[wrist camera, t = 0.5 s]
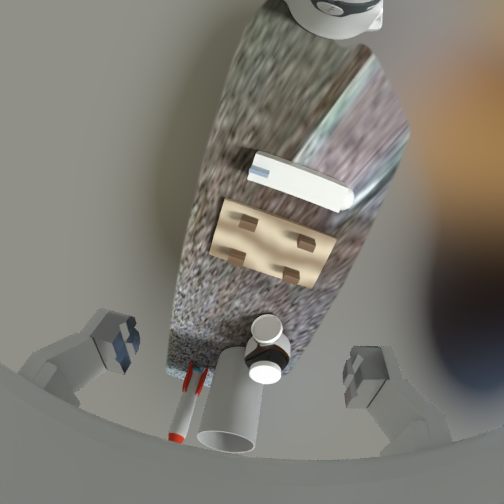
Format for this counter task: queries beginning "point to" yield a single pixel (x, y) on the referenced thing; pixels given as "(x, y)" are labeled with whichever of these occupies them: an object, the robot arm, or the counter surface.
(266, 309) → the counter surface
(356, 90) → the counter surface
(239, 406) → the cylinder vase
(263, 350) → the spread jar
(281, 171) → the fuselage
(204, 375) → the toy rocket
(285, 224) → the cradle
